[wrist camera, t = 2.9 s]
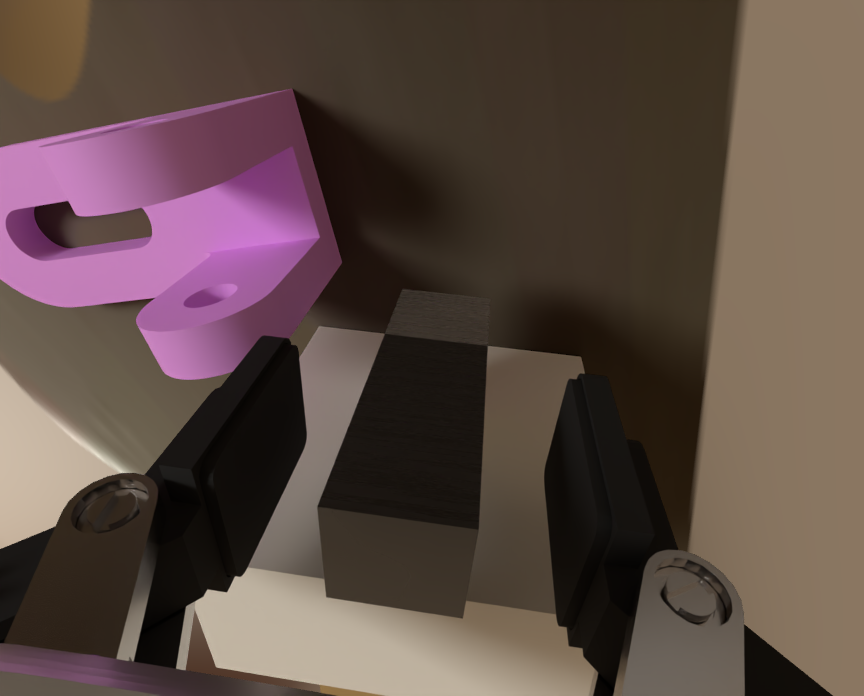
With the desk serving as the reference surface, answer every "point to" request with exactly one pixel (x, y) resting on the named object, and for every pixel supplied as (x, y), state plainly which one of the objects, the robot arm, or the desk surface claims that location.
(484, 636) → the block
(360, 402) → the grey upright plate
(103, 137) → the bracket
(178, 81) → the desk surface
